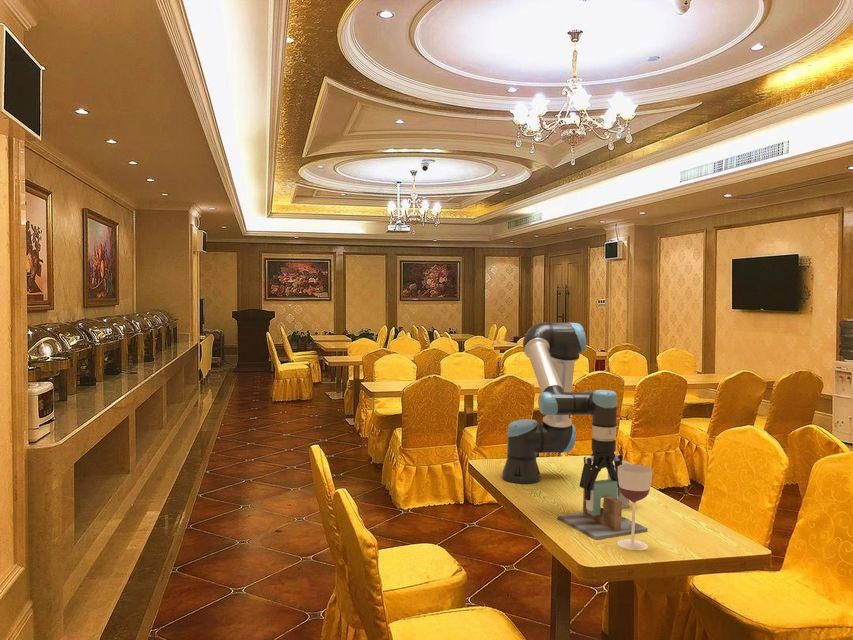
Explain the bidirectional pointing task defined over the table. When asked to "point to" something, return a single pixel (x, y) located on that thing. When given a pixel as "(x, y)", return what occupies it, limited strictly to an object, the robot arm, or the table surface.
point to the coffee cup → (624, 500)
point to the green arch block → (602, 494)
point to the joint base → (602, 521)
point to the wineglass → (634, 495)
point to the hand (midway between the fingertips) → (601, 508)
